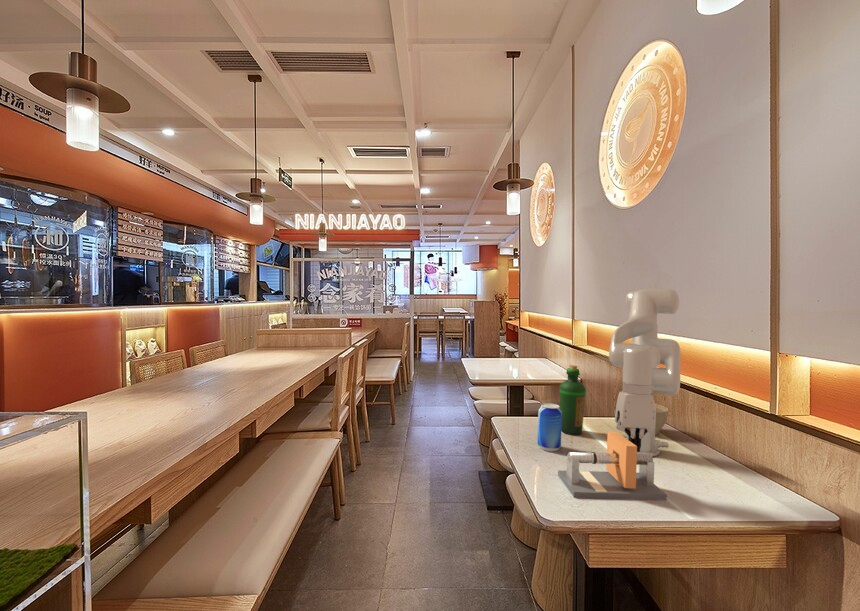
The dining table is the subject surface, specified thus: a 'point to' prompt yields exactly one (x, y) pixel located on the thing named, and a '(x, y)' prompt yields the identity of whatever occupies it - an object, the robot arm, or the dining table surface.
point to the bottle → (572, 402)
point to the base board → (608, 487)
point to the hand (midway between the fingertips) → (634, 450)
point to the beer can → (549, 427)
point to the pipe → (608, 458)
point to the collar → (622, 459)
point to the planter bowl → (660, 417)
